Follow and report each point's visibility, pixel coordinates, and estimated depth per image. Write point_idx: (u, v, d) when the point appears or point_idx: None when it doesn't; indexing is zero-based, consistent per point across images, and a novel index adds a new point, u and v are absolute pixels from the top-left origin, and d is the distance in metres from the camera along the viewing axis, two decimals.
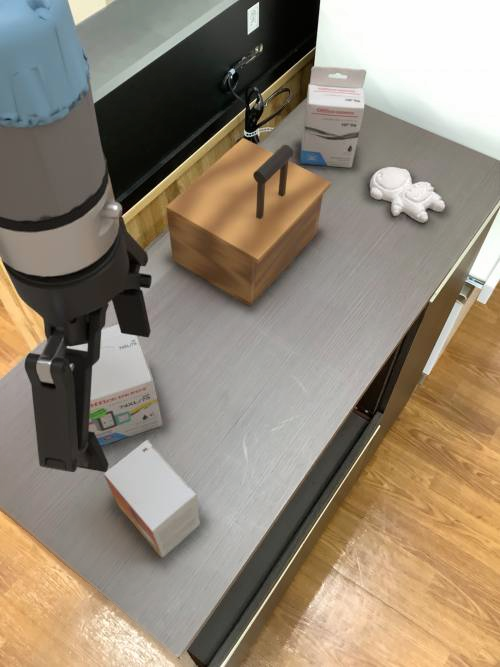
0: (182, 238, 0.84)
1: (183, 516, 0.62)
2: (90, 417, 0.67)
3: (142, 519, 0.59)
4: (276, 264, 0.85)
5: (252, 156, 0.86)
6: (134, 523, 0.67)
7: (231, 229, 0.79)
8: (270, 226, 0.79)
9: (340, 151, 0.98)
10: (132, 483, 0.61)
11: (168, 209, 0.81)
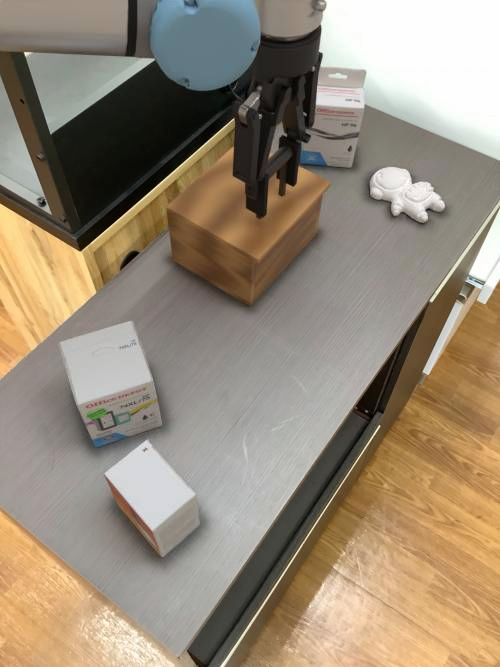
0: (182, 238, 0.84)
1: (183, 516, 0.62)
2: (90, 417, 0.67)
3: (142, 519, 0.59)
4: (276, 264, 0.85)
5: None
6: (134, 523, 0.67)
7: (231, 229, 0.79)
8: (270, 226, 0.79)
9: (340, 151, 0.98)
10: (132, 483, 0.61)
11: (168, 209, 0.81)
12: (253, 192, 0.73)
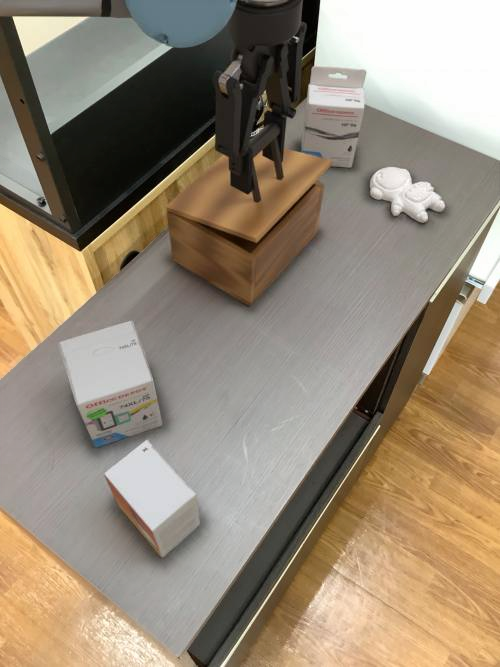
0: (182, 238, 0.84)
1: (183, 516, 0.62)
2: (90, 417, 0.67)
3: (142, 519, 0.59)
4: (276, 264, 0.85)
5: None
6: (134, 523, 0.67)
7: (228, 215, 0.77)
8: (268, 207, 0.77)
9: (340, 151, 0.98)
10: (132, 483, 0.61)
11: (168, 208, 0.80)
12: (237, 167, 0.72)
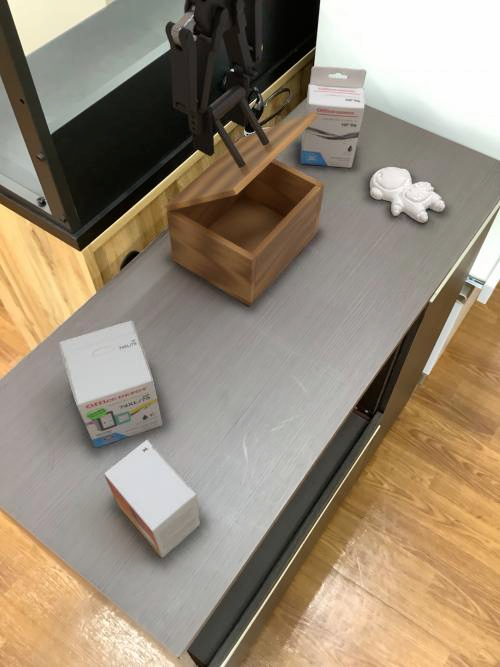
0: (182, 238, 0.84)
1: (183, 516, 0.62)
2: (90, 417, 0.67)
3: (142, 519, 0.59)
4: (276, 264, 0.85)
5: (246, 141, 0.84)
6: (134, 523, 0.67)
7: (214, 186, 0.74)
8: (250, 165, 0.73)
9: (340, 151, 0.98)
10: (132, 483, 0.61)
11: (167, 207, 0.80)
12: (197, 126, 0.71)
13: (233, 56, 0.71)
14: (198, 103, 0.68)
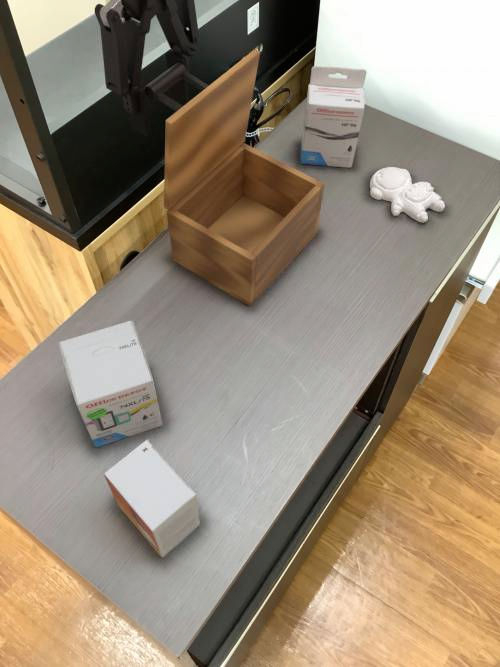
0: (182, 238, 0.84)
1: (183, 516, 0.62)
2: (90, 417, 0.67)
3: (142, 519, 0.59)
4: (276, 264, 0.85)
5: None
6: (134, 523, 0.67)
7: None
8: None
9: (340, 151, 0.98)
10: (132, 483, 0.61)
11: (165, 206, 0.80)
12: (131, 107, 0.75)
13: (170, 37, 0.76)
14: (130, 84, 0.73)
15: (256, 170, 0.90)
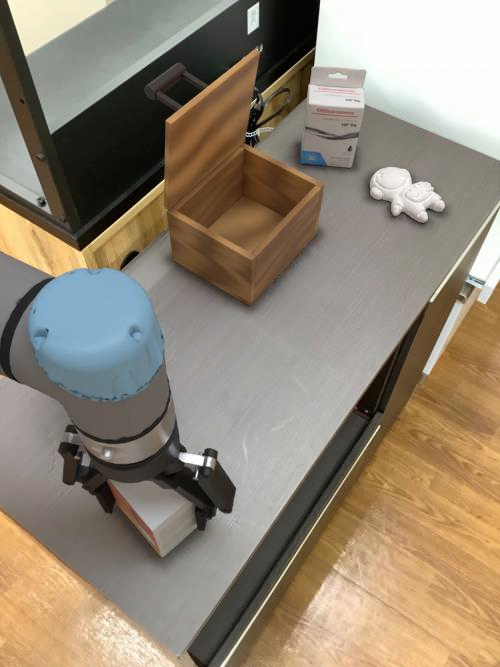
0: (182, 238, 0.84)
1: (183, 516, 0.62)
2: None
3: (142, 519, 0.59)
4: (276, 264, 0.85)
5: None
6: (134, 523, 0.67)
7: None
8: None
9: (340, 151, 0.98)
10: (132, 483, 0.61)
11: (165, 206, 0.80)
12: None
13: None
14: (84, 481, 0.61)
15: (256, 170, 0.90)
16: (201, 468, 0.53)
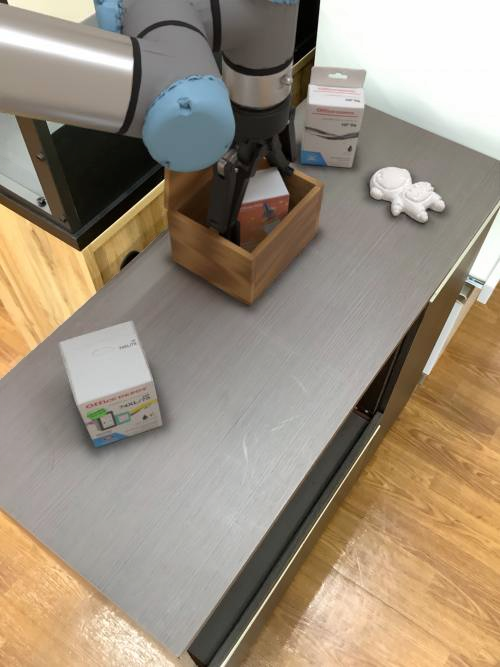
0: (182, 238, 0.84)
1: None
2: (90, 417, 0.67)
3: (277, 196, 0.79)
4: (276, 264, 0.85)
5: None
6: (254, 246, 0.86)
7: None
8: None
9: (340, 151, 0.98)
10: (249, 193, 0.79)
11: (165, 206, 0.80)
12: (226, 237, 0.80)
13: (272, 162, 0.82)
14: (229, 219, 0.78)
15: (256, 170, 0.90)
16: None
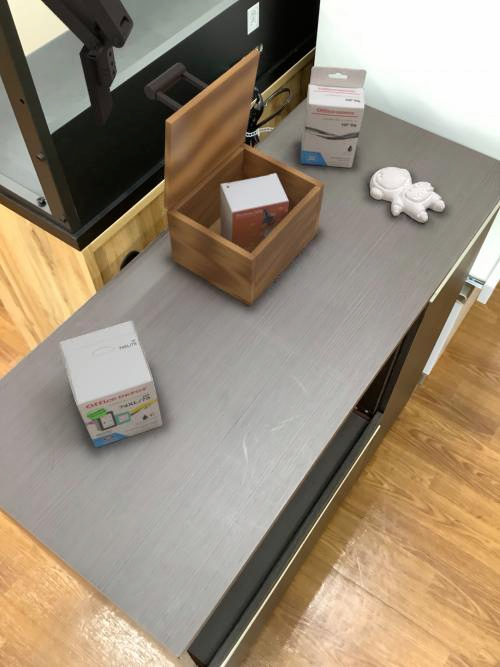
0: (182, 238, 0.84)
1: None
2: (90, 417, 0.67)
3: (277, 202, 0.80)
4: (276, 264, 0.85)
5: None
6: None
7: None
8: None
9: (340, 151, 0.98)
10: (249, 199, 0.80)
11: (165, 206, 0.80)
12: None
13: None
14: None
15: (256, 170, 0.90)
16: None
